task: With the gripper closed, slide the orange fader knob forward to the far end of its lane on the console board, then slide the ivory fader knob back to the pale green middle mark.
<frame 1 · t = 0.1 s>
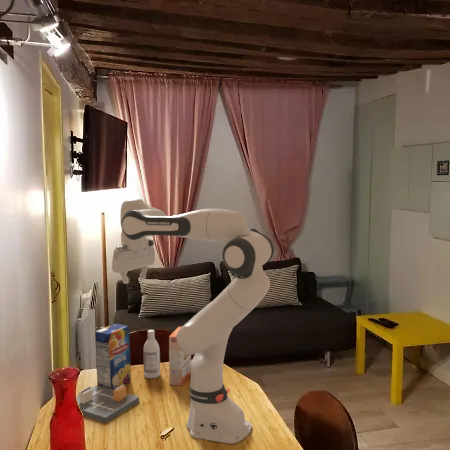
hand: (134, 280, 179), 48 cm above the table, tool pointing down, fingers open, 8 cm apart
juice carton: (114, 385, 202), on the table
console board: (101, 405, 184), on the table
ivory knob: (86, 394, 182), point 5 cm above the table, slide at 0.0 cm
orange knob: (119, 392, 184), point 5 cm above the table, slide at 0.0 cm
bath foam: (152, 376, 211), on the table
cracker box: (180, 379, 207), on the table
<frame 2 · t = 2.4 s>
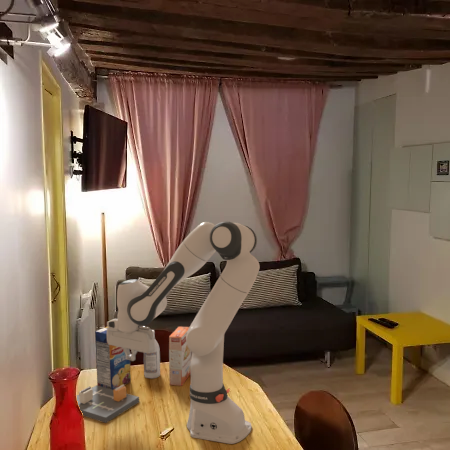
hand: (130, 359, 179), 19 cm above the table, tool pointing down, fingers closed
nothing on the table moved.
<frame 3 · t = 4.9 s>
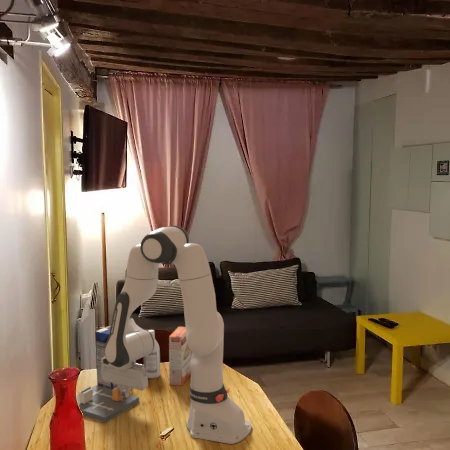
hand: (124, 395, 183), 4 cm above the table, tool pointing down, fingers closed
orange knob: (118, 392, 184), point 5 cm above the table, slide at 0.6 cm, touching gripper
everything else where it was.
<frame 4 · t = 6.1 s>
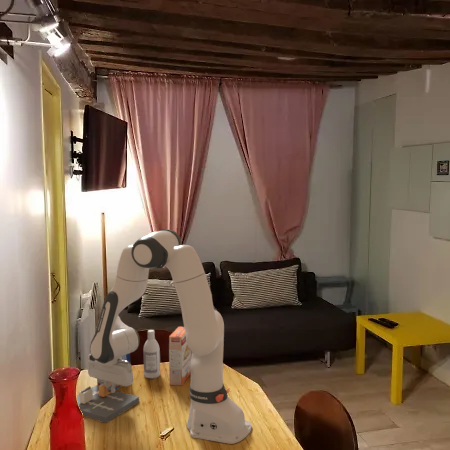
hand: (110, 391, 186), 4 cm above the table, tool pointing down, fingers closed
orange knob: (105, 388, 188), point 5 cm above the table, slide at 7.5 cm, touching gripper
everything else where it was.
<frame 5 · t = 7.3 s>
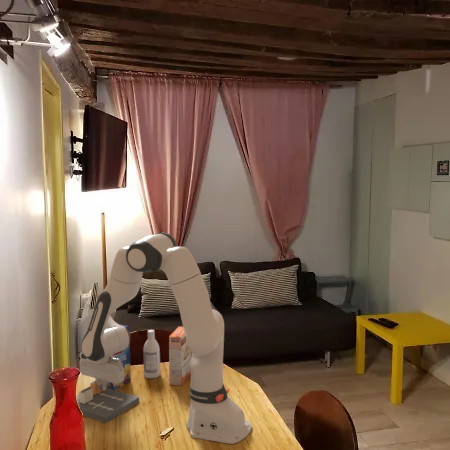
hand: (102, 389, 188), 4 cm above the table, tool pointing down, fingers closed
orange knob: (96, 386, 190), point 5 cm above the table, slide at 11.9 cm, touching gripper
everything else where it was.
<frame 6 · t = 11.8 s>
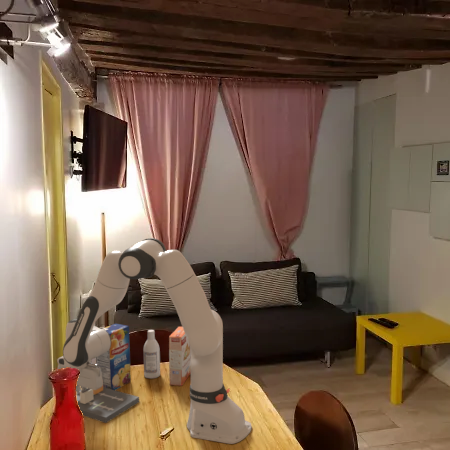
hand: (80, 395, 184), 4 cm above the table, tool pointing down, fingers closed
ivory knob: (86, 394, 182), point 5 cm above the table, slide at 0.4 cm, touching gripper
orange knob: (96, 386, 190), point 5 cm above the table, slide at 11.9 cm
everything else where it was.
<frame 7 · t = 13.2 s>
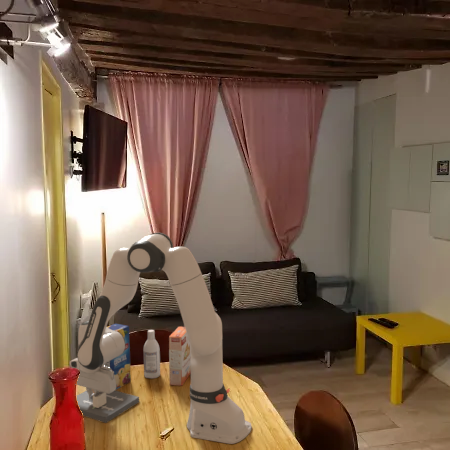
hand: (93, 399, 181), 4 cm above the table, tool pointing down, fingers closed
ivory knob: (99, 398, 179), point 5 cm above the table, slide at 6.9 cm, touching gripper
everything else where it was.
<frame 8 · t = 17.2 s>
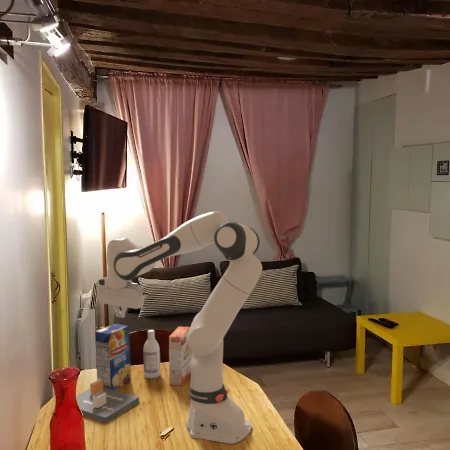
hand: (120, 317, 184), 33 cm above the table, tool pointing down, fingers closed
ivory knob: (99, 398, 179), point 5 cm above the table, slide at 6.9 cm
everything else where it was.
at the end: orange knob slide at 11.9 cm; ivory knob slide at 6.9 cm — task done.
